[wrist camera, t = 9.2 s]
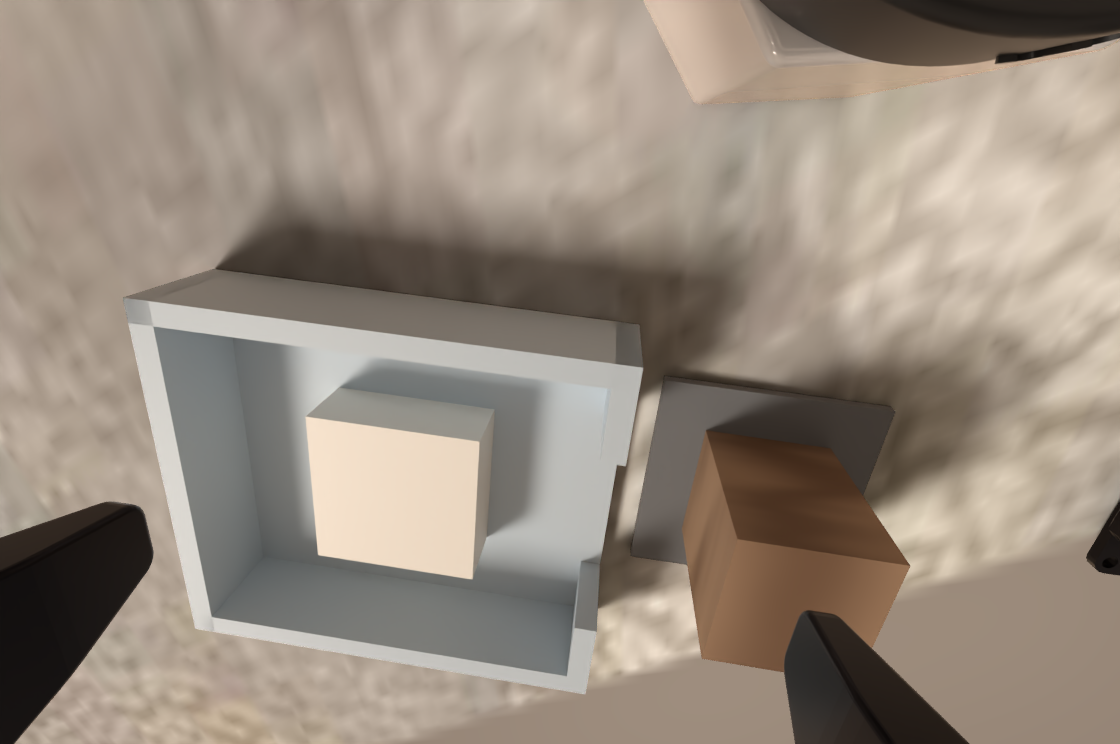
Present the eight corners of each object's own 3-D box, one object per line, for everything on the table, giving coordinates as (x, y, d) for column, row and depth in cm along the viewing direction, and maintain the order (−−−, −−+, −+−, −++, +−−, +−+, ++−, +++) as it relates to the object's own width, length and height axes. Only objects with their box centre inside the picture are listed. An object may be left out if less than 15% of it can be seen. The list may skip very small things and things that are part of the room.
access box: (639, 324, 19) (643, 367, 16) (590, 611, 25) (585, 694, 21) (213, 268, 20) (122, 297, 16) (256, 558, 26) (195, 628, 22)
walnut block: (830, 448, 20) (910, 565, 14) (796, 546, 22) (855, 684, 16) (705, 430, 20) (737, 539, 15) (681, 528, 22) (701, 658, 16)
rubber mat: (890, 406, 19) (895, 411, 19) (824, 579, 23) (827, 586, 22) (664, 376, 20) (665, 380, 20) (630, 549, 23) (630, 555, 23)
